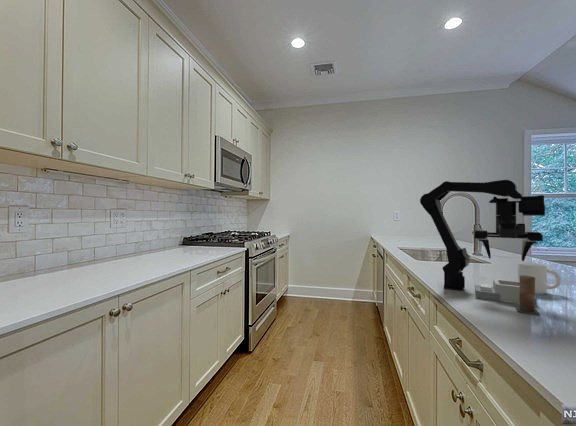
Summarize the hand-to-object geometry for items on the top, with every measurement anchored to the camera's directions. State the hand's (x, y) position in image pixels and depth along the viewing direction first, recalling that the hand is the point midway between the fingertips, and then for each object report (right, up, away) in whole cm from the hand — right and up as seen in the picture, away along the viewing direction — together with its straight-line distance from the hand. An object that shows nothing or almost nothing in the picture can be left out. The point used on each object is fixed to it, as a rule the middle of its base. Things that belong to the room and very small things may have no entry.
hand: (505, 259), depth 98 cm
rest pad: (-5, -13, -15) cm, 20 cm away
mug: (+16, -13, +5) cm, 22 cm away
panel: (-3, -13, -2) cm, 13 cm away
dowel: (-5, -13, -15) cm, 20 cm away
